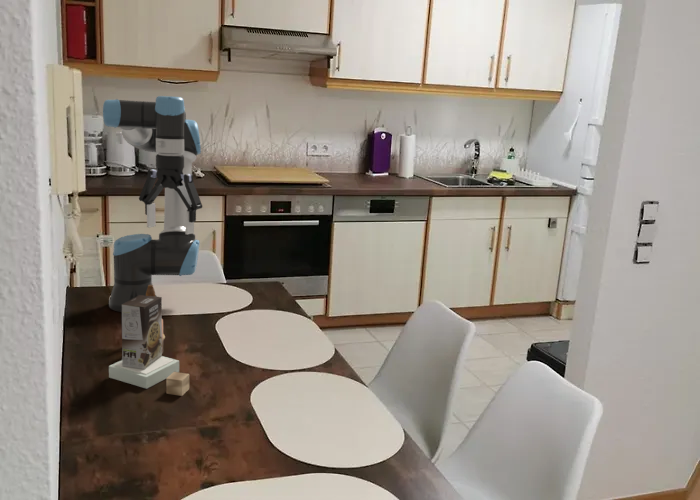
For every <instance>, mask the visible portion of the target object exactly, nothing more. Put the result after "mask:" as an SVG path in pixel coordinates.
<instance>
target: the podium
mask: <svg viewBox="0 0 700 500" xmlns="http://www.w3.org/2000/svg"><path fill="white" fill-rule="evenodd" d="M173 372H179V373H180V360H178V359H175V358H171V357H167V356H163V355H162V357H160V358H159V359H158V360H156V361H155V362H153V363H152V364H151V365H149V366H148V367H147V368H146V369H139V368H133V367H127V366H122V359H121V360H119V361H117V362H114V363H113V364H110V365H108V379H109V378H110V379H113V380H117V381H121V382H123V383H127V384H131V385H133V386H137V387H140V388H143V389H149V388H151V387H153V386H155V385H157V384H158V383H160V382H162V381H164V380H166V378H167V377H168V376H170V375H171V374H172V373H173Z"/></svg>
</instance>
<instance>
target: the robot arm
mask: <svg viewBox="0 0 700 500" xmlns="http://www.w3.org/2000/svg"><path fill="white" fill-rule="evenodd" d="M185 110H186V107H185V101H184V98H183V97H182V96H169V95H168V96H167V95H158V96H156V98H155V101H140V100H125V99H124V100H122V99H118V98H116V99H105V101H104V102H103V105H102V120H103V124H104V125H105V126H106V127H109V128H114V129H115V128H119V129H120V131H121V135H122V137H123V139H124V141H125V142H126V143H128V145H130V146H132V147H134V148H135V149H136V148H137V149H139V150H141V151H145V152H150V153H156V155H155V167H156V168H152V169H147V176H146V177H147V178H146V179H145V182H144V184H143V187H142V190H141V192H140V194H139V197H138V199H139V201H140V202H143V203H144V210H145V211H144V212H145V213H144V214H145V216H146V228H149V229H150V228H154V227H156V225H157V223H156V221H157V220H156V214H157V213H156V210H157V209H156V203H155V200H156V199H157V197H158V196H159V195H160V193H161V192H162V191H163V190H164V212H163V213H164V216H163V217H164V218H163V229H162V230H161V231H160V232H159V234H158V239H153V238H152V235H150V234H148V233H147V234H146V233H136V234H129V235H124V236H121V237H119V238H117V239H116V240H115V241H114V243H113V252H112V256H113V282H114V283H113V287H112V289H111V293H110V296H109V299H108V308H109V309H110V310H113V311H116V312H120V313H122V304H124V303H125V302H127V301H129V300H131V299H133V298H135V297H137V296H139V295H144V296H146V291H147V288H148V285H153V281H152V280H153V279H152V278H153V277H152V276H179V277H182V276H191V275H193V274H195V273H196V270H197V265H198V260H199V259H198V258H199V251H200V244H201V243H200V240H199V239H196V234H195V222H196V221H197V210H200V209H202V208H203V204H202V202H201V199H200V198H201V197H200V195H199V193H198V190H197V188H196V185H195V182H194V175H193V172H192V171H193V167H192V166H193V164H192V163H194V162H195V161H196V160H197V156H198V155H200V154H201V153H202V151H201V150H202V149H201V148H202V147H201V139H200V132H199V131H200V130H199V125H198V123H197V122H196V120H194V119H187V118H186V117H187V115H186V111H185ZM157 179H158V180H157ZM156 180H157V181H156ZM155 296H156V297H158V296H157V295H156V294H155Z"/></svg>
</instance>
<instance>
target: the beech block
mask: <svg viewBox="0 0 700 500" xmlns="http://www.w3.org/2000/svg"><path fill="white" fill-rule="evenodd" d="M165 381H166V385H165V386H166V387H165V388H166V395H167V394H168V395H174V396H181V397H182V396H184V395H185V394H186V392H188V391H189V390H190V373H185V372H180V371H179V372H173V373H172V374H171V375H170V376H168V377H167V378H166V379H165Z"/></svg>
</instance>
